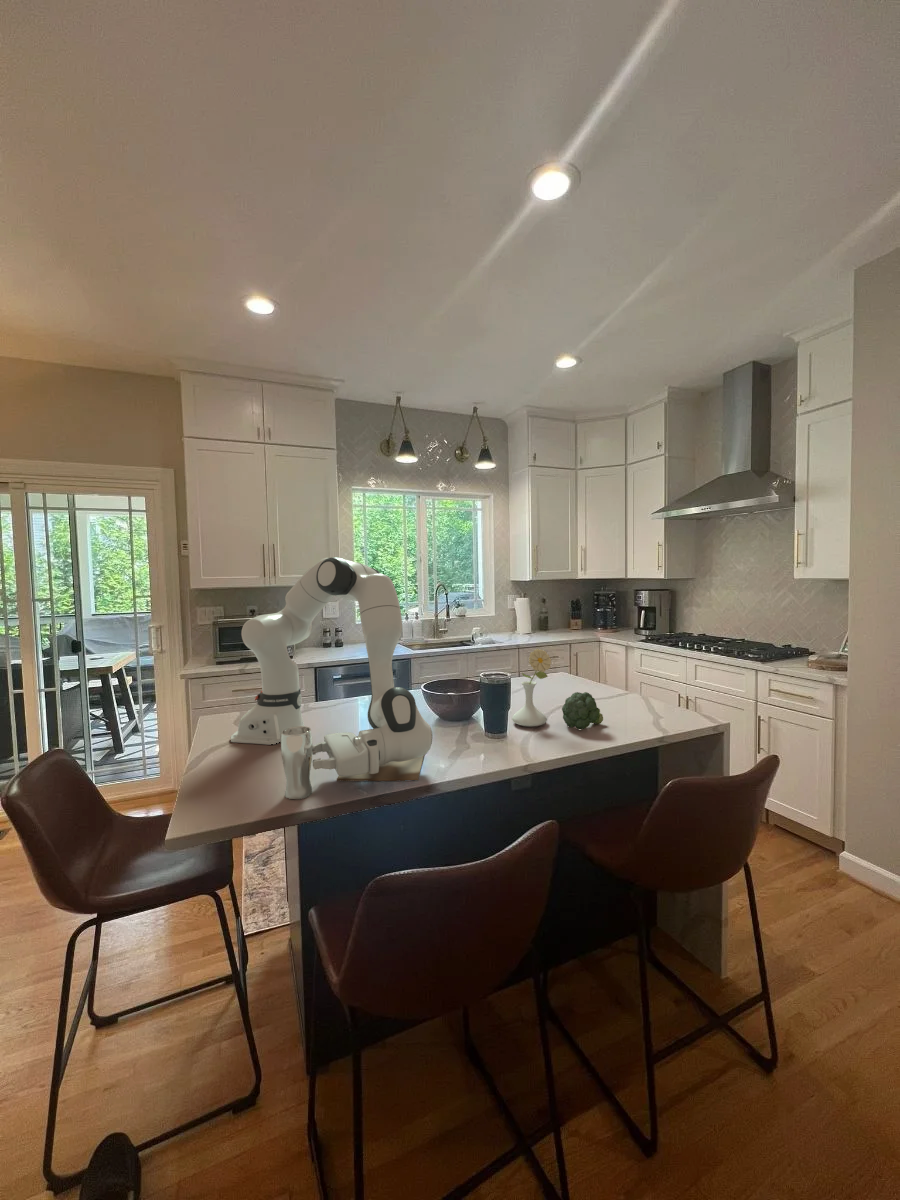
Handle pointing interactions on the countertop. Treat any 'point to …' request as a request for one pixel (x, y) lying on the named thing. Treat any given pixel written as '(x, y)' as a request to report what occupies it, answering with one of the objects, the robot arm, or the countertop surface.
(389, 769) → the tan wooden board
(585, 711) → the vegetable
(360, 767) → the robot arm
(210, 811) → the countertop surface
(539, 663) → the flower in vase
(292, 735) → the beer glass
